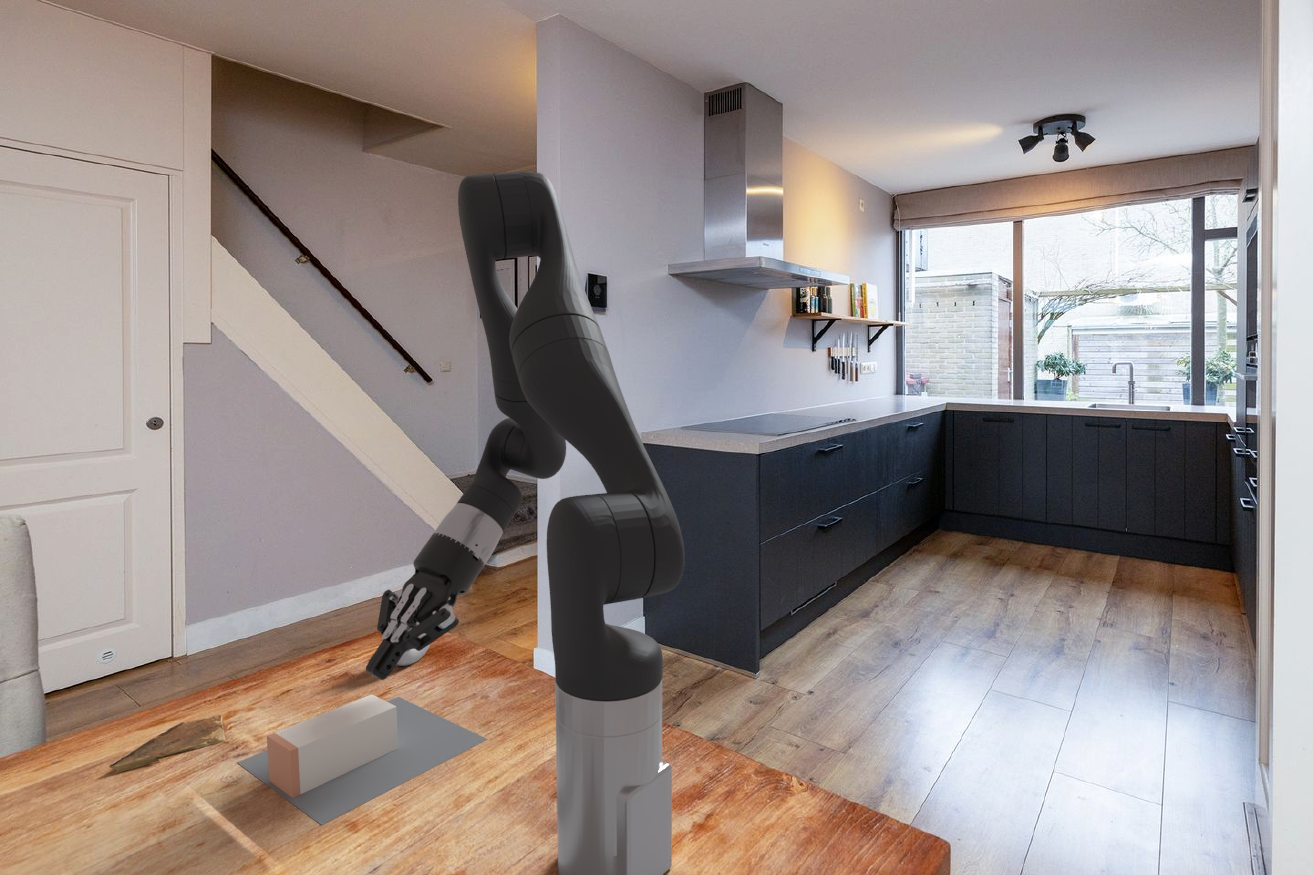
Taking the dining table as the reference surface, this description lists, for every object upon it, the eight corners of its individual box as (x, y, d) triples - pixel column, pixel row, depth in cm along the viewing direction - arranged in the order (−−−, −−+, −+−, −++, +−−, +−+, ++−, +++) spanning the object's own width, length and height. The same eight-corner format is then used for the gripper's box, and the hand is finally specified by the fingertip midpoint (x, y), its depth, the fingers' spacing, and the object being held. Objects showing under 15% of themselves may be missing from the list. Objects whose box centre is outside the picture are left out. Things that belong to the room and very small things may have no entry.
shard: (109, 779, 79) (108, 763, 78) (114, 748, 85) (112, 733, 85) (226, 750, 85) (225, 735, 84) (222, 723, 91) (221, 709, 91)
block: (396, 706, 82) (290, 750, 73) (398, 748, 83) (292, 797, 73) (371, 694, 85) (266, 735, 76) (373, 734, 86) (269, 780, 76)
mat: (487, 743, 85) (487, 738, 85) (321, 829, 69) (321, 824, 69) (398, 700, 96) (398, 696, 96) (237, 766, 80) (236, 762, 80)
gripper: (409, 524, 93) (320, 646, 84) (476, 539, 85) (385, 675, 76) (445, 556, 98) (364, 674, 89) (511, 573, 90) (430, 705, 81)
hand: (374, 675), depth 83 cm, fingers closed
